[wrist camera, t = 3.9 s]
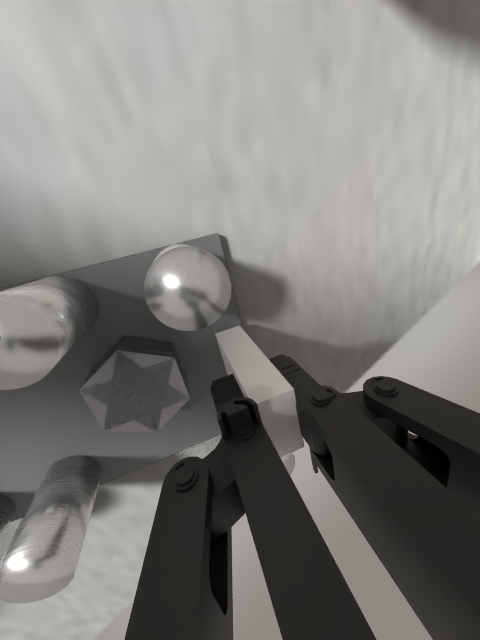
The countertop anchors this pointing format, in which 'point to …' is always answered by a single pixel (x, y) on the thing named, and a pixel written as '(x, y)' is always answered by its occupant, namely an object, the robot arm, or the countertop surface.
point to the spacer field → (39, 359)
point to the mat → (71, 371)
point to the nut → (136, 386)
